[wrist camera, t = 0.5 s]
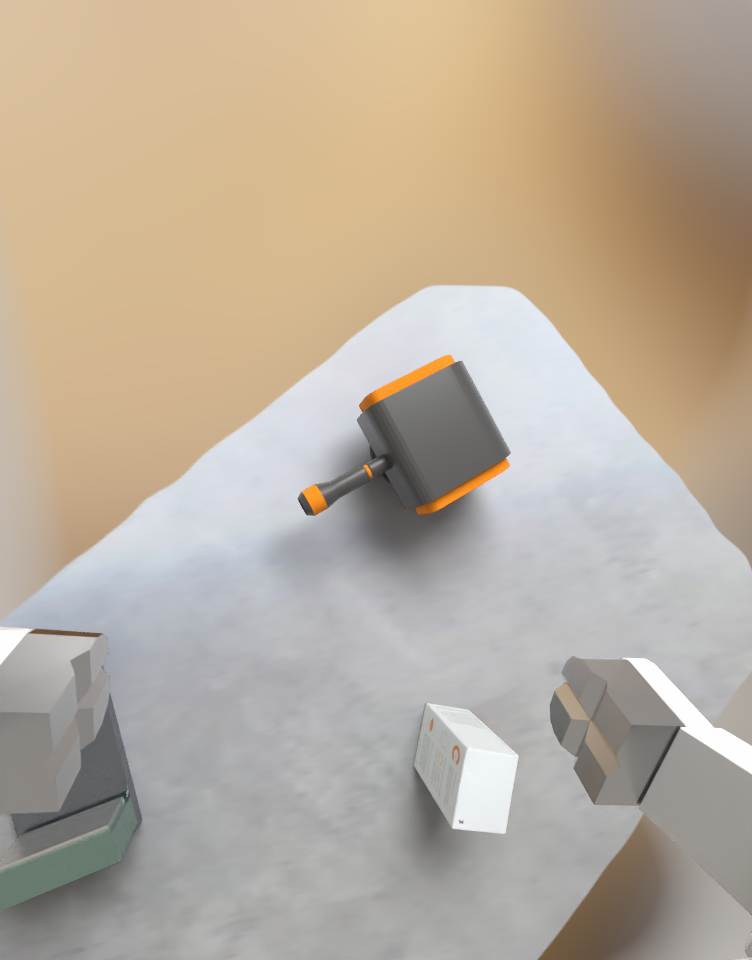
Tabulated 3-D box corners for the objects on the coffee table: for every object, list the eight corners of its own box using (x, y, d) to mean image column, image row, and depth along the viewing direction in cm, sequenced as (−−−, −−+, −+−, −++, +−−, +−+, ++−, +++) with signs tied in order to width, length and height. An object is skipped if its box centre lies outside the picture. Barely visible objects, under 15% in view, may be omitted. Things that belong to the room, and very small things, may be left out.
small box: (457, 772, 62) (506, 837, 49) (412, 765, 60) (450, 831, 48) (469, 708, 63) (520, 755, 50) (425, 700, 61) (466, 747, 49)
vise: (142, 818, 53) (121, 866, 46) (33, 862, 50) (-7, 919, 43) (95, 637, 53) (68, 656, 46) (-15, 671, 51) (-62, 696, 44)
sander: (269, 458, 60) (270, 442, 47) (432, 375, 65) (470, 341, 53) (325, 559, 60) (340, 569, 48) (481, 468, 66) (530, 456, 54)
